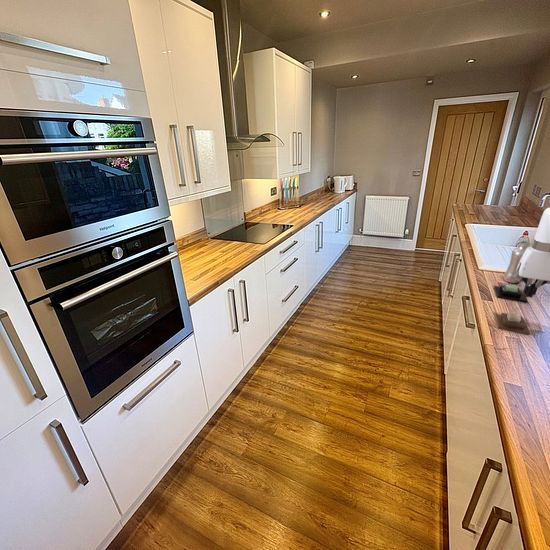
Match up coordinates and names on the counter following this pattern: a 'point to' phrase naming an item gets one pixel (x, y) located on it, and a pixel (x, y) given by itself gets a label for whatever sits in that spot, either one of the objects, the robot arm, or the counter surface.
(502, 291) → the keypad far
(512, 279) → the plastic bottle
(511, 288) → the key far
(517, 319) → the key near
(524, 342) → the counter surface
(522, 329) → the keypad near
